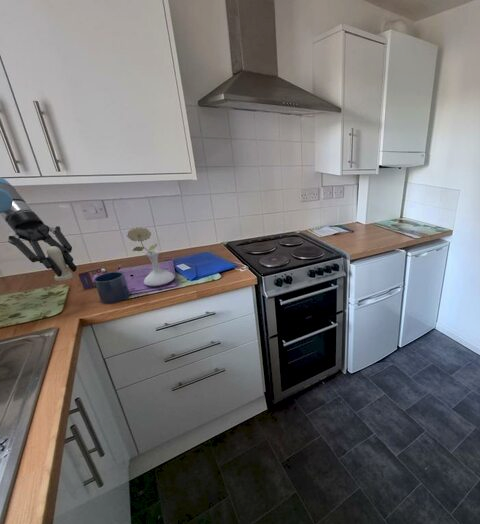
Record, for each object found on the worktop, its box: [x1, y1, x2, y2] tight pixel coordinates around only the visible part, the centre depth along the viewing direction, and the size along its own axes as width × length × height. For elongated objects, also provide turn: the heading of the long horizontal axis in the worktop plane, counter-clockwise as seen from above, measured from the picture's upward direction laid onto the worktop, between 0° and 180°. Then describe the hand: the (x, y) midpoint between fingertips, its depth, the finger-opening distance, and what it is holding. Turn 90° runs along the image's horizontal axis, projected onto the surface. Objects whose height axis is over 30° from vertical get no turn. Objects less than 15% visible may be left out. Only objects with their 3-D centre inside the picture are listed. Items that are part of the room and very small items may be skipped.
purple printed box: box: [77, 267, 108, 290], centre depth 126 cm, size 7×5×9 cm
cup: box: [93, 271, 131, 304], centre depth 115 cm, size 9×9×9 cm
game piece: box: [46, 246, 74, 282], centre depth 100 cm, size 5×5×12 cm
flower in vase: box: [126, 226, 175, 287], centre depth 124 cm, size 13×11×25 cm
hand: (67, 271), depth 100 cm, fingers closed on game piece, 3 cm apart
